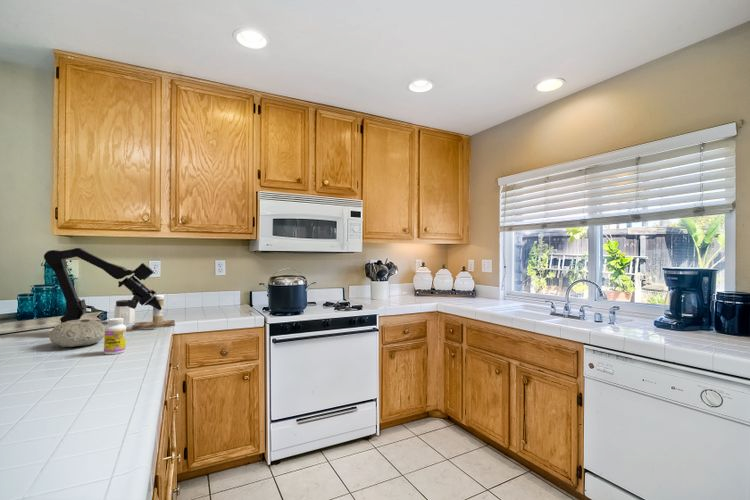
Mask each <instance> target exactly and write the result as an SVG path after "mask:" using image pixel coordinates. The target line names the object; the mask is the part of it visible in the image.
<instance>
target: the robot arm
mask: <svg viewBox="0 0 750 500" xmlns="http://www.w3.org/2000/svg"><path fill="white" fill-rule="evenodd" d="M72 258H78V259H81V260H83V261H85V262H86V263H89V264H91V265H93V266H94V267H97V268H99V269H101V270H103V272H105V273H106V274H108V275H109V276H111V277H112V278H113V279H115V280H119V281H118V282H117V283H118V285H117V287H118V288H121V287H122V286H124V287H125V288H127V289H128V290H129V291H130V292H131V295H133V297H132V298H131V299H127V300H128V302H127V304H128V307H129V308H133V309H135V310H136V308H137V306H138V303H139V304H140V305H141V306H151V307H152V308H153V307H155V308H157V309H158V310H161V309H162V308H161V306H160V304H159V302H158V300H157V298H156V296H154V295H158V294H157V291H156V290H154V289H149V288H148V287H147V286H146V284H144V283H142V282H141V281H142V280H143V281H145V280H147V279H148V278H149V277H150V276H151V275H153V274H154V273H155V271H154V270H153V269H152V268H151V267H149V266H148V265H146V264H145V263H144V262H143V263H141V264H139V266H137V267H136V268H135V269H134V270H133V269H127V268H126V267H125V266H121V265H118V264H114V263H111V262H108V261H107V260H105V259H102V258H101V257H99V256H97V255H94V254H93V253H90V252H88V251H86V250H85V249H84V248H79V247H75V248H70V249H66V250H59V249H56V250H55V249H52V250H48V251H45V253H44V255H43V259H44V261H45V262H46V264H47V265H48V266H49V268H50V269H51V270H52V271H53V272H54V275H55V277H56V280H57V282H58V284H59V287H60V289H61V292H62V294H63V297H64V299H65V311H66V314H64V315H63V316H62V317H60V318H59V321H60V324H61V323H63V322H67V321H71V320H81V318H82V316H84V315H86V313H87V310H88V309H87V308H88V305H87V304H86V299H84V298H83V299H80V298H79V296H78V294H77V292H76V289H75V287H74V285H73V282H72V279H71V277H70V275H69V272H68V270H67V259H72ZM128 276H130V277H128ZM122 279H123V280H122ZM120 280H121V281H120ZM153 296H154V297H153Z"/></svg>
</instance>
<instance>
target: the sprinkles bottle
mask: <svg viewBox="0 0 750 500" xmlns="http://www.w3.org/2000/svg"><path fill="white" fill-rule="evenodd" d="M154 296H156V298H157V300H158V302H159V304H160V306H161V308H162V309H161V310H158V309H157V308H155V307H153V306H152V308H153V309H152V320H151V322H153V323H161V322H163V321H164V320H163V318H164V317H163V316H164V299H165V295H164V294H157V295H156V294H154ZM154 296H153V297H154Z"/></svg>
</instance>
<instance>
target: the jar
mask: <svg viewBox="0 0 750 500" xmlns="http://www.w3.org/2000/svg"><path fill="white" fill-rule="evenodd" d="M128 300H129V299H119V300H115V306H114V318H123V325H130V324H135V323H136V308H135V309H133V308H129V307H128V304H127V302H128Z"/></svg>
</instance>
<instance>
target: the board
mask: <svg viewBox="0 0 750 500" xmlns="http://www.w3.org/2000/svg"><path fill="white" fill-rule="evenodd" d="M175 326H176V322H175V320H173V319H172V320H170V319H169V320H163V322H161V323H153V322H152V321H141V322H140V321H139V322H138V321H137V322H134V323H133V327H132V329H133V330H136V329H152V328H163V327H175Z"/></svg>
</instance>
